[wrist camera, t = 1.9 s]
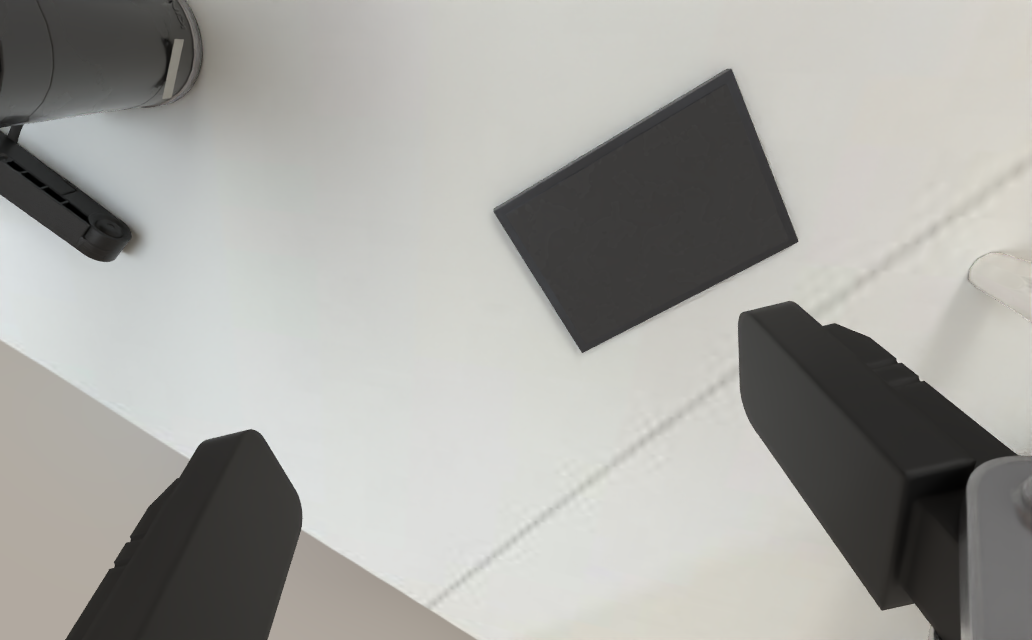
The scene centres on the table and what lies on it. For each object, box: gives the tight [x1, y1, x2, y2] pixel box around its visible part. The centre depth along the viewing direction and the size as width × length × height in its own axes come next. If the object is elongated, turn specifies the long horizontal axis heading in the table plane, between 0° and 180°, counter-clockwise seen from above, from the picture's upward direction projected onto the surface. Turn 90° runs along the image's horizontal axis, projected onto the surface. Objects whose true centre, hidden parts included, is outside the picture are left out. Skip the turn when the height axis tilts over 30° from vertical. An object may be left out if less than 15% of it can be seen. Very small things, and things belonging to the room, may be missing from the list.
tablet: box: [494, 69, 798, 353], centre depth 45 cm, size 20×15×1 cm
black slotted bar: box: [0, 131, 132, 262], centre depth 41 cm, size 18×3×3 cm, turn 44°
